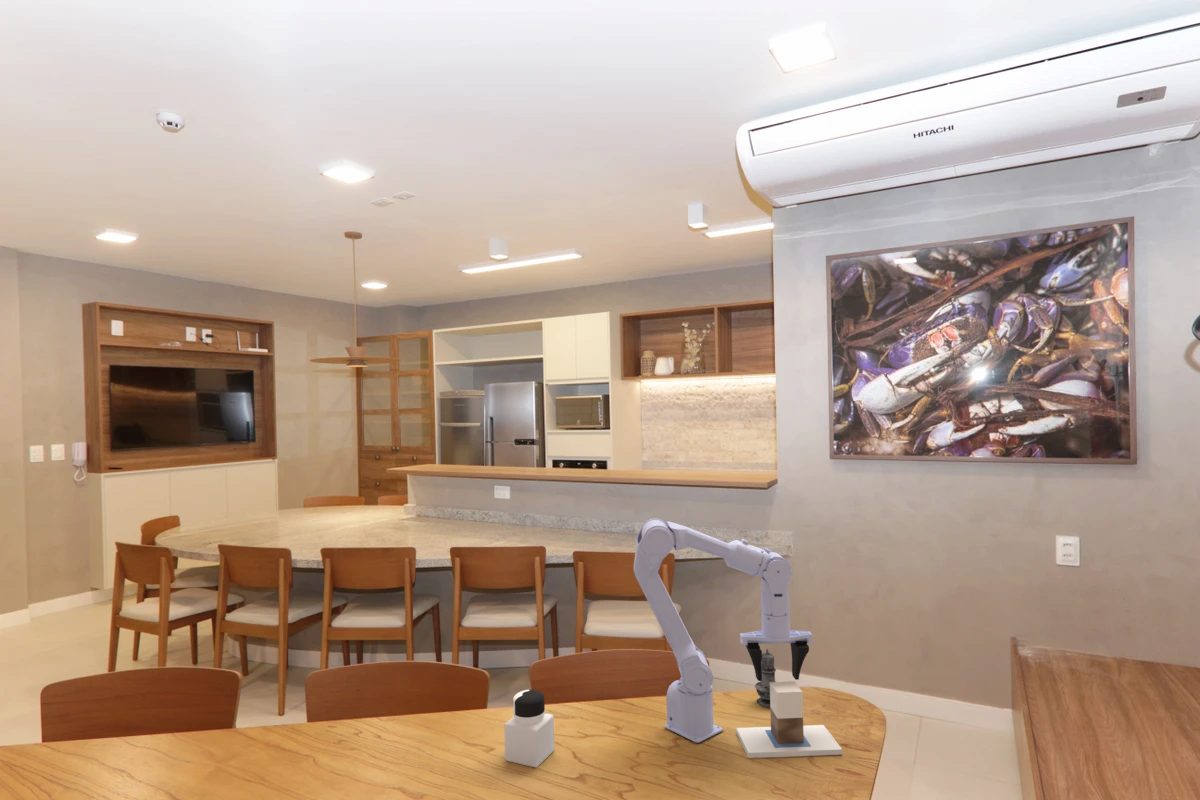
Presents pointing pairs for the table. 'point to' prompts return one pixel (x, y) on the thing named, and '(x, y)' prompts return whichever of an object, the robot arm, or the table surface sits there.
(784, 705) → the cream block
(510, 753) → the medicine bottle
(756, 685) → the grey tall round piece
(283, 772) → the table surface
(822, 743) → the board
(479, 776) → the table surface
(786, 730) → the walnut block
